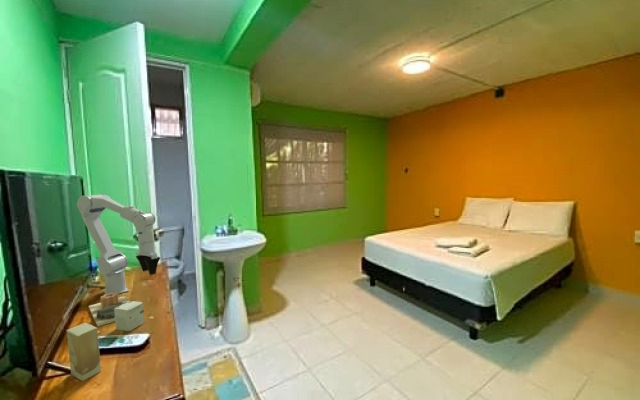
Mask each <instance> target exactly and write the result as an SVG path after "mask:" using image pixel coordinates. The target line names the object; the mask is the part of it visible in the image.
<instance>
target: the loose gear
mask: <svg viewBox="0 0 640 400" xmlns="http://www.w3.org/2000/svg"><path fill="white" fill-rule="evenodd" d="M108 296H109V297H108ZM118 298H119V294H117V293H109V294H105V293H104V294H103V295H102V296H100V303H101V307H102V308H103V307H107V306H110V305H111V304H117V303H119V299H118Z"/></svg>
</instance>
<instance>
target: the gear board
mask: <svg viewBox="0 0 640 400" xmlns="http://www.w3.org/2000/svg"><path fill="white" fill-rule="evenodd" d="M108 297H109V296H108ZM118 299H119V303H117V304H111V305H110V306H107V307H103V308H102V307H101V302H98V303H94V304H90V305H88V309H89V312H90V314H91V316H92V319H93V321H94V322H95V324H96V328H98V327H101V326H104V325H107V324H110V323H113V322H115V313H114V308H116V307H119V306H121V305H122V304H125V303H127V302H129V301H130V300H129V299H128V298H127V297H126V296H125V295H124V296H120V297H119V296H118Z"/></svg>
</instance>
